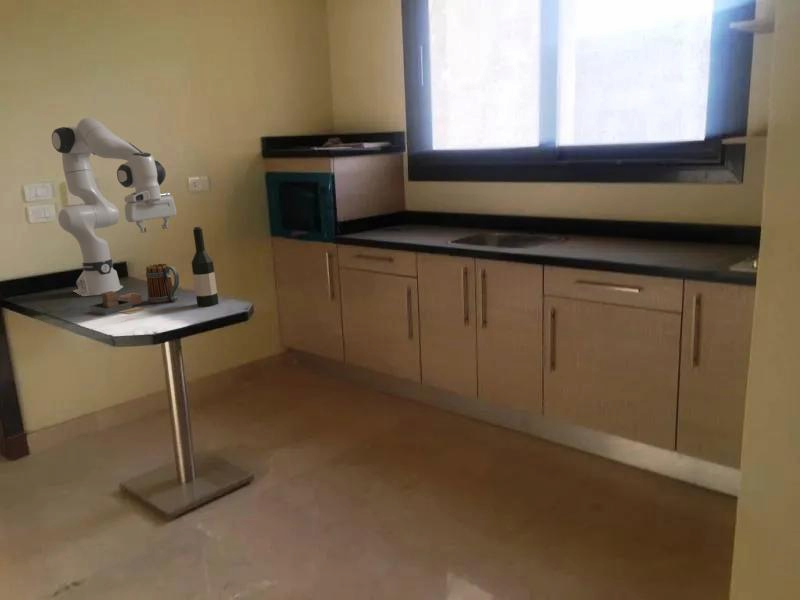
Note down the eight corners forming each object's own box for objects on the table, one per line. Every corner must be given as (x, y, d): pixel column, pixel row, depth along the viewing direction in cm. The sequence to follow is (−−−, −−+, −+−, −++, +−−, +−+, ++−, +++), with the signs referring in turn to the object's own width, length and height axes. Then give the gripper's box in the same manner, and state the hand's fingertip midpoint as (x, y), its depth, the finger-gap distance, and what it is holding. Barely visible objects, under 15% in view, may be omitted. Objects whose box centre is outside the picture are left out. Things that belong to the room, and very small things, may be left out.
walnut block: (104, 311, 258) (101, 293, 257) (113, 308, 261) (110, 291, 260) (109, 312, 256) (106, 294, 254) (119, 309, 259) (116, 291, 257)
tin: (91, 313, 258) (89, 305, 257) (117, 306, 266) (116, 299, 266) (105, 316, 251) (104, 308, 251) (132, 309, 260) (131, 302, 259)
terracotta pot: (120, 305, 268) (118, 296, 267) (134, 302, 272) (132, 293, 271) (128, 307, 264) (127, 297, 263) (142, 303, 269) (140, 294, 268)
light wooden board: (118, 313, 255) (118, 311, 255) (137, 308, 261) (137, 306, 261) (129, 315, 250) (129, 314, 250) (148, 310, 256) (148, 309, 256)
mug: (142, 304, 267) (136, 267, 264) (163, 298, 276) (157, 262, 273) (171, 306, 260) (165, 268, 257) (191, 300, 269) (185, 263, 266)
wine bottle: (221, 301, 264) (211, 225, 257) (215, 306, 255) (204, 227, 249) (200, 302, 264) (190, 226, 257) (193, 307, 256) (182, 229, 249)
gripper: (167, 192, 269) (173, 227, 272) (120, 198, 254) (126, 234, 257) (176, 192, 265) (182, 227, 268) (129, 197, 250) (135, 234, 253)
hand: (154, 230), depth 262 cm, fingers open, 8 cm apart
